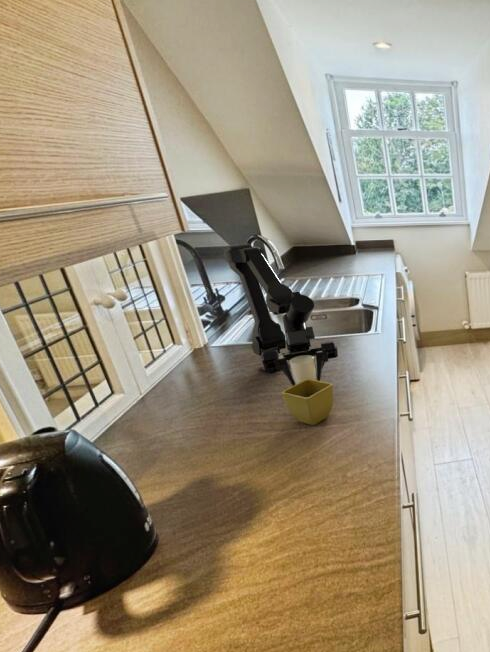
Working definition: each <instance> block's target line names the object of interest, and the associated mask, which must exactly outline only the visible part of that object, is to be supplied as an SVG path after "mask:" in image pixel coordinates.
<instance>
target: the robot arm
mask: <svg viewBox="0 0 490 652" xmlns="http://www.w3.org/2000/svg"><path fill="white" fill-rule="evenodd" d="M223 257H224V260H225V262H227V263H228V266H229V267H230V269H231V271H233V272H234V273H235V274H236V275H237V276H238V277H239V279H240V282H241V285H242V288H243V291H244V294H245V296H246V299H247V302H248V306H249V308H250V312H251V314H252V317H253V320H254V325H253V329H252V335H253V338H252V343H251V349H252V352H253V353H254V354H255V355H257V356H259V357H261V362H262V364H263V365H262V366H261V367H259V370H261V371H263V372H266V373H268V374H273V373H276V372H278V371H282V373H283V374H284V375H285V376H286V377H287V379H288V381H289V382H290V384H291V385H292V386H294V380H293V376H292V371H291V368H290V367H289V366H290V365H289V364H288V361H290V360H291V359H292V358H294V357H297V356H302V355H310V356H313V357H315V359H316V361H315V362H316V371H317V376H318V381H322V380H321V378H322V373H323V369H324V367H325V363H327V362H329V360H331V359H336V358H338V357H339V353H338V346H337V342H335V341H334V340H330V341H329V340H328V341H324V342H320V347H315V348H312V345H311V340H315V339H316V337H315V332H314V331H315V330H314V328H313V326H307V322H308V321H309V319H310V317H311V315H312V313H313V310H314V308H315V303H314V300H313V299H312V298H311V297H309V296H308V295H305V294H302V293H301V292H300V290H299V291H293V290H292V289H291V288H290V286H288V285H286V284H283V283H282V282H281V281H280V279H279V278H278V276H277V274H276V273H275V272H274V270H273V268H272V267H271V265H270V264H269V262H268V261H267V259H266V258H265V255H264V251H263V250H262V248H261V247H259V246H253V245H252V244H250V243H242V244H234V245H227V246H226V249H225V250H223ZM263 290H264V292H263ZM264 293H265V294H266V296H264ZM271 313H272V314H273V315H274V316H281V315H283V314H284V315H283V316H282V323H283V329H284V330H282V327H281V324H280V323H278V322H276V321H275V320H273V319H272V316H271ZM284 349H285V350H286V349H287V351H288V352H285V353H283V352H281V350H284ZM292 386H291V387H292Z"/></svg>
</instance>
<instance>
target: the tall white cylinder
mask: <svg viewBox="0 0 490 652" xmlns="http://www.w3.org/2000/svg"><path fill="white" fill-rule="evenodd" d="M288 361H289V366H290V367H289V368H290V372H291V375H292V378H293V380H294V385H296V384H298V383H300V382H302V381H304V380H306V379H312V380H317V381H318V376H317V365H316V361H315V356H310V355H302V356H297V357H294V358H292V359H291V360H288Z"/></svg>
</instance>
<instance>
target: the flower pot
mask: <svg viewBox="0 0 490 652" xmlns="http://www.w3.org/2000/svg"><path fill="white" fill-rule="evenodd" d="M281 396H282V398H283V400H284V403H285V405H286V407H287V410H288V412H289V413H290V415H292V417H294V419H295V420H297V421H298V422H300V423H302V424H303V423H304V424H306V425H310V426H315V425H317V424H319V423H320V422H322V421H323V420H324V419H326V418H328V417H329V415H330V414H331V412H332V409H333V406H334V384H333V383H330V382H326V381H322V380H320V381H317V380H312V379H306V380H304V381H302V382H300V383H298V384H296V385H294V386H291V387H288V388H287V389H284V390H283V391H281Z"/></svg>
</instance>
